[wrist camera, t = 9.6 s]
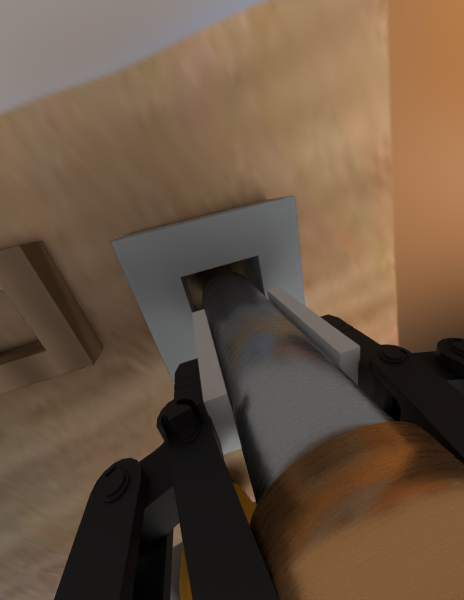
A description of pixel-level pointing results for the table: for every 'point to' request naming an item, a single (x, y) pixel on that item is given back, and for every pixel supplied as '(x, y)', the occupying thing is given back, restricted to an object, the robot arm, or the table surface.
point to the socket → (208, 265)
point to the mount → (43, 320)
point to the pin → (332, 466)
